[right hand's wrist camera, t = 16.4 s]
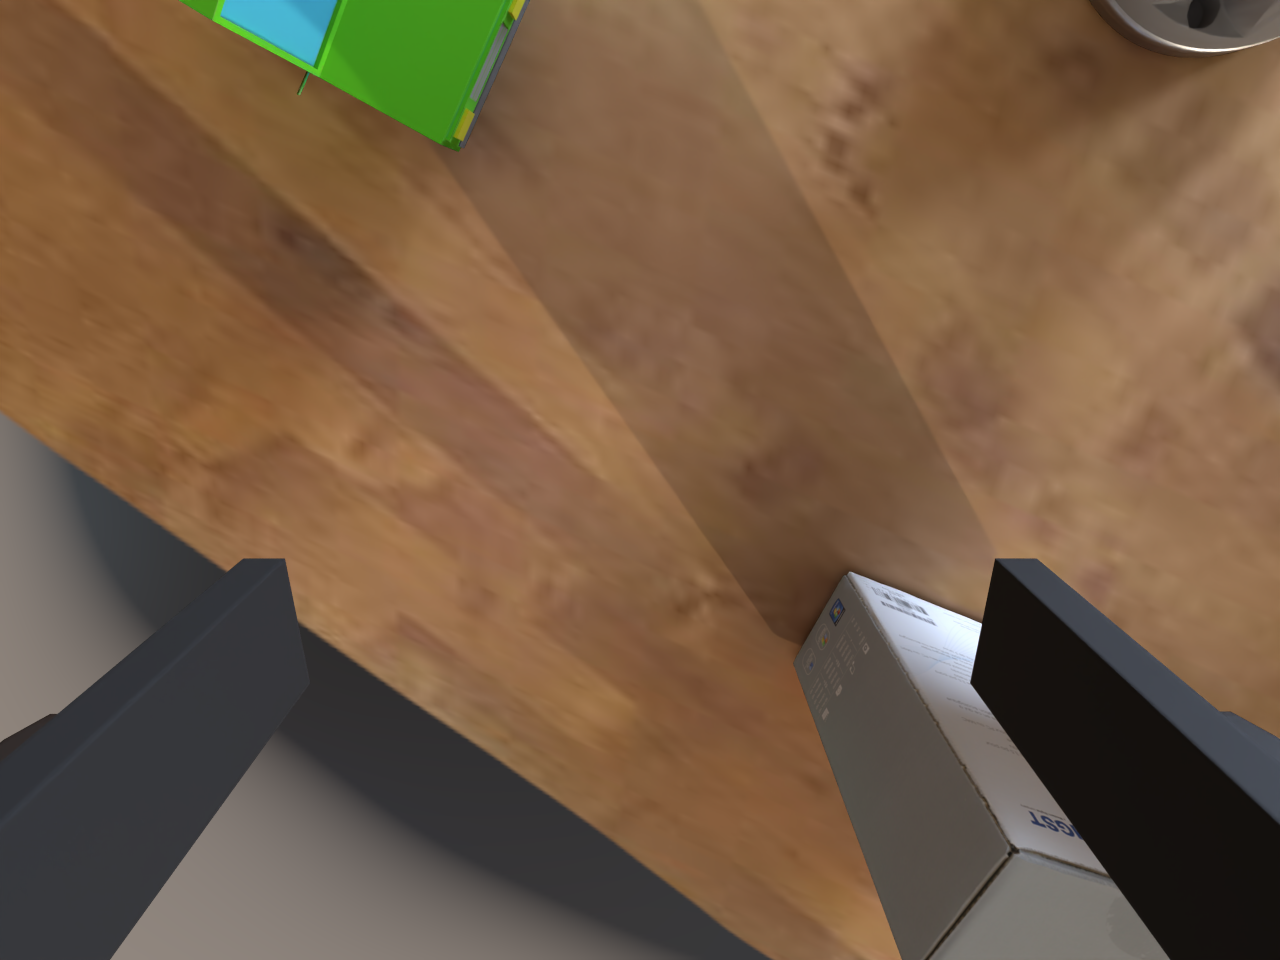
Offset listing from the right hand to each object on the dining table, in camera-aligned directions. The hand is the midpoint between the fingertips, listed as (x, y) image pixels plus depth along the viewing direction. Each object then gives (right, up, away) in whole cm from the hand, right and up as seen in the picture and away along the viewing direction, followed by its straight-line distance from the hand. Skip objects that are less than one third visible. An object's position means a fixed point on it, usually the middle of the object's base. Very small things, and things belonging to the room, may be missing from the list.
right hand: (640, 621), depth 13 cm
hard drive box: (+18, -9, +31) cm, 37 cm away
